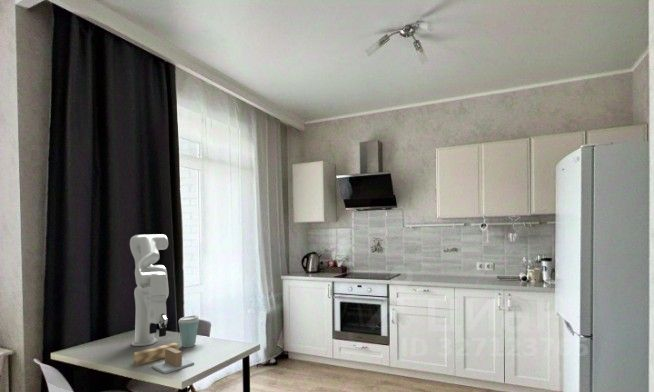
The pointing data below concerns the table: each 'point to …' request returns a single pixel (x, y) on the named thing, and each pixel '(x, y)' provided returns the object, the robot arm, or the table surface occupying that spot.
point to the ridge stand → (172, 361)
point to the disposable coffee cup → (188, 330)
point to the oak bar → (152, 353)
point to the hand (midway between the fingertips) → (157, 334)
